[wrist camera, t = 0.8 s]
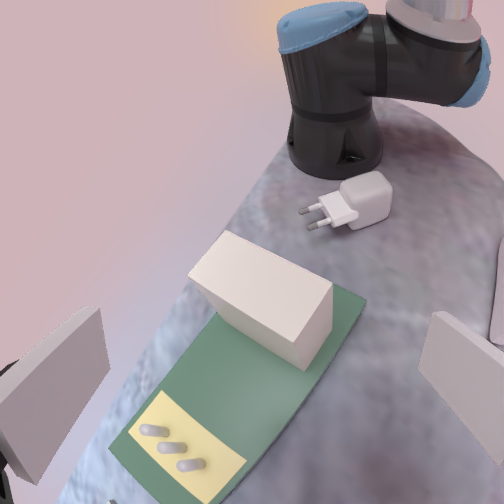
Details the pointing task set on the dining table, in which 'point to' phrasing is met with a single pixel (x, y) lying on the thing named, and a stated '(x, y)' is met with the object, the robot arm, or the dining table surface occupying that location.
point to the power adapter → (355, 202)
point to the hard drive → (111, 502)
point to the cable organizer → (498, 302)
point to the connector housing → (266, 298)
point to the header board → (221, 410)
